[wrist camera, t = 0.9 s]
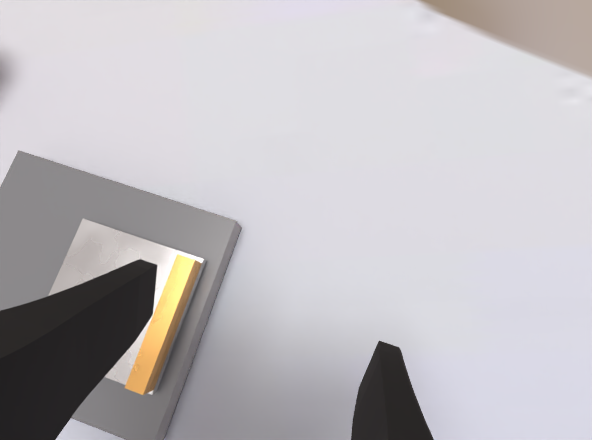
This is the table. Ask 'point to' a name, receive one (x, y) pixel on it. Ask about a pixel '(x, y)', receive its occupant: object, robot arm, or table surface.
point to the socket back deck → (43, 222)
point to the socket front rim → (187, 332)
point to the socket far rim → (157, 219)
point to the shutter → (167, 302)
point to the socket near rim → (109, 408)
